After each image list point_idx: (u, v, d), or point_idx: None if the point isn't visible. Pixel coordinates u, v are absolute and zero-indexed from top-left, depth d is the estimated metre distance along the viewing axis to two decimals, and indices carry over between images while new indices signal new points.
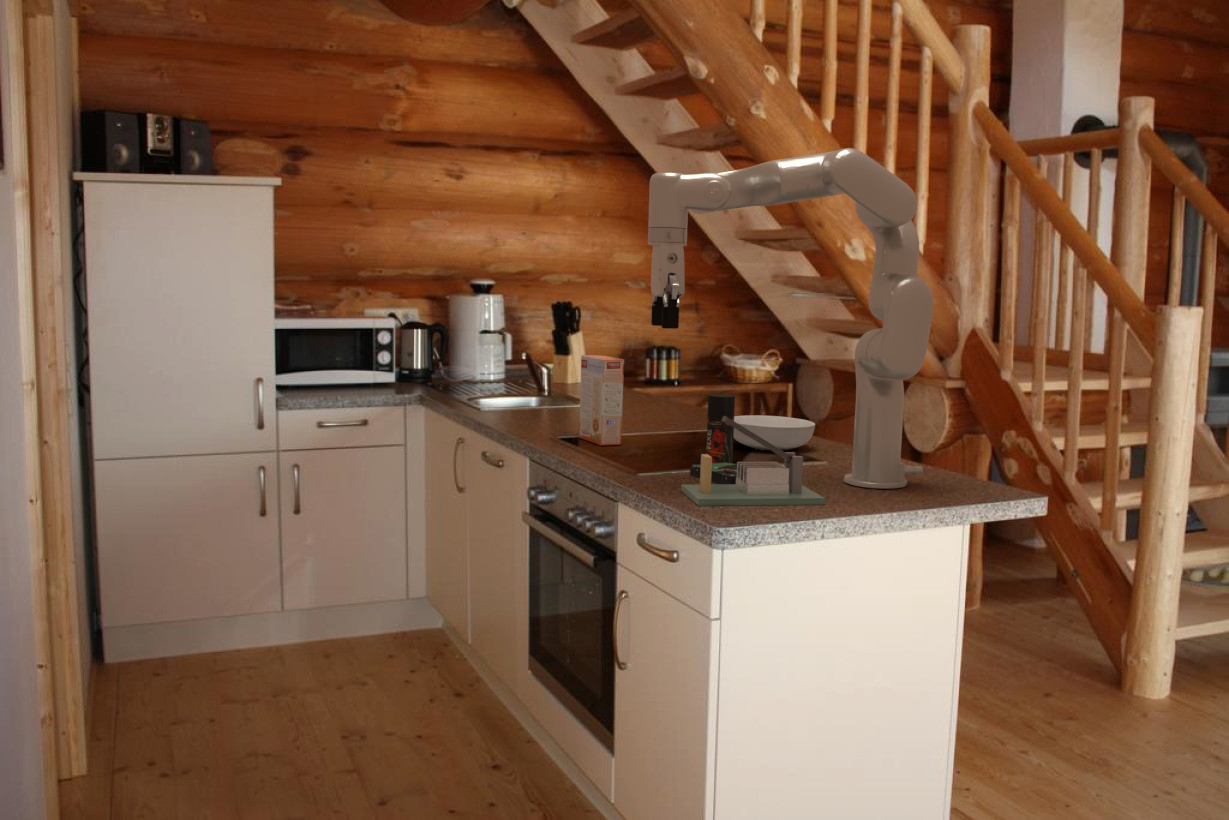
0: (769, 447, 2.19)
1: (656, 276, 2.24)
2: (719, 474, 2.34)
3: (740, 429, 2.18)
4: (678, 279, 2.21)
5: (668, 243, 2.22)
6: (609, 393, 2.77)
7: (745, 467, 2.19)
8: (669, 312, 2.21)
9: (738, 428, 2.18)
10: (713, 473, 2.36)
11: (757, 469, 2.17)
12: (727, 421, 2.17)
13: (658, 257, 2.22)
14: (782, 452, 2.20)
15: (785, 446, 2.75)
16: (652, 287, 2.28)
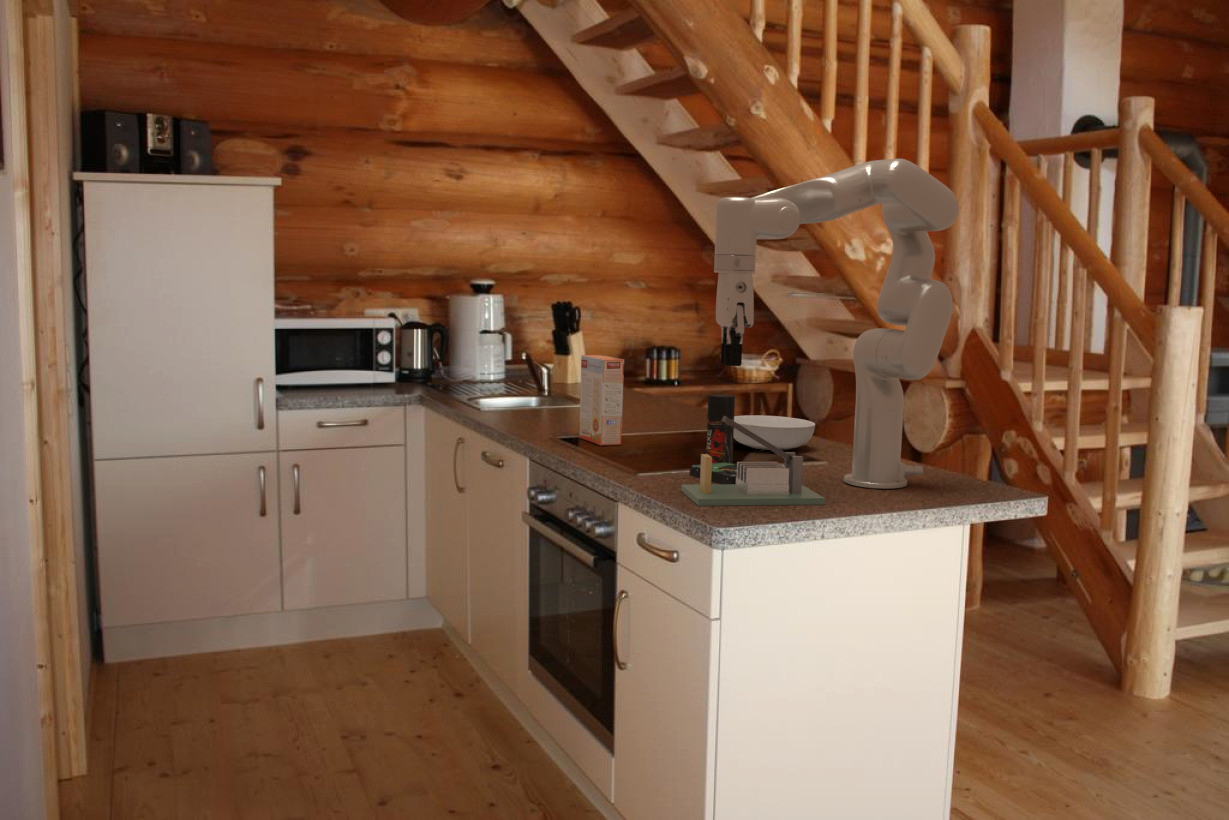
0: (769, 447, 2.19)
1: (723, 305, 2.13)
2: (720, 474, 2.34)
3: (740, 429, 2.18)
4: (747, 309, 2.11)
5: (736, 271, 2.11)
6: (609, 393, 2.77)
7: (745, 467, 2.19)
8: (732, 349, 2.15)
9: (738, 428, 2.18)
10: (714, 473, 2.36)
11: (757, 469, 2.17)
12: (727, 421, 2.17)
13: (726, 285, 2.12)
14: (782, 452, 2.20)
15: (785, 446, 2.75)
16: (718, 316, 2.18)
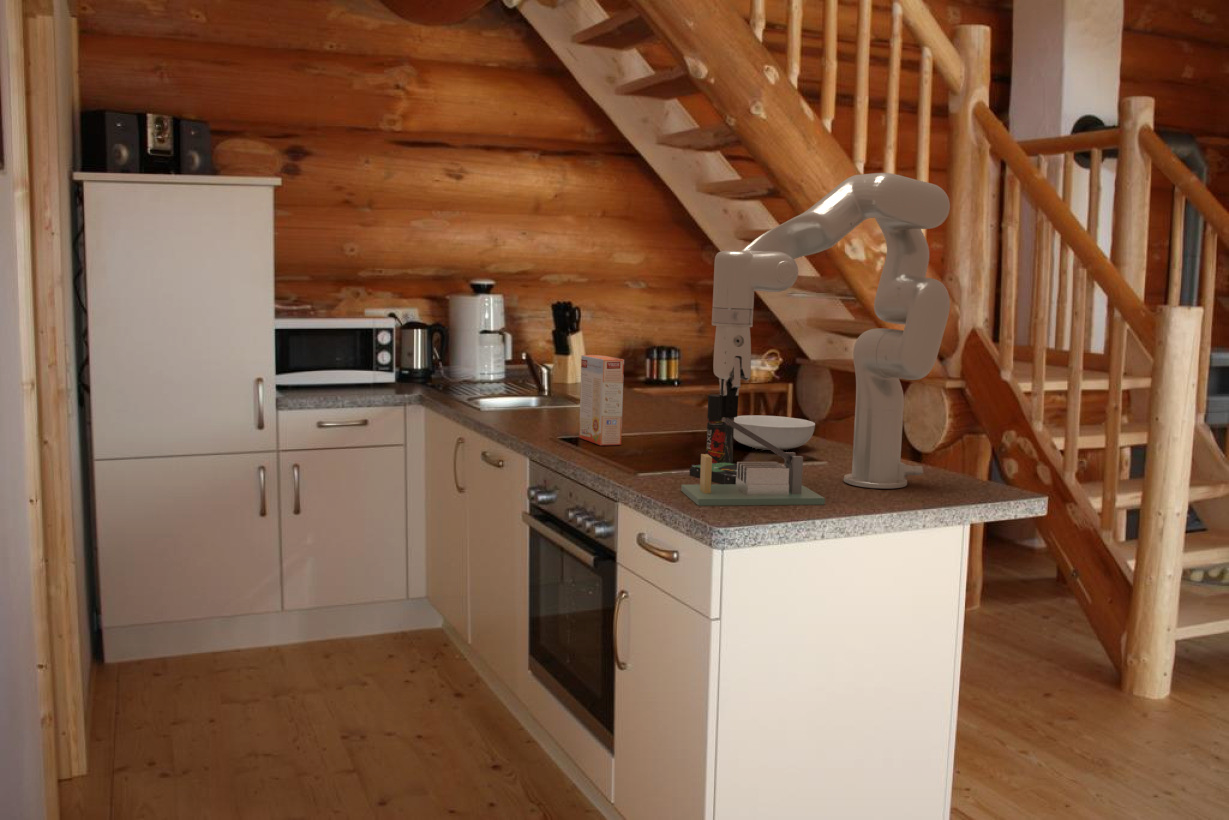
0: (769, 447, 2.19)
1: (721, 358, 2.14)
2: (721, 474, 2.34)
3: (740, 429, 2.18)
4: (744, 362, 2.12)
5: (734, 325, 2.12)
6: (609, 393, 2.77)
7: (745, 467, 2.19)
8: (728, 401, 2.16)
9: (738, 428, 2.18)
10: (714, 473, 2.36)
11: (757, 469, 2.17)
12: (727, 421, 2.17)
13: (723, 339, 2.13)
14: (782, 452, 2.20)
15: (785, 446, 2.75)
16: (715, 368, 2.19)
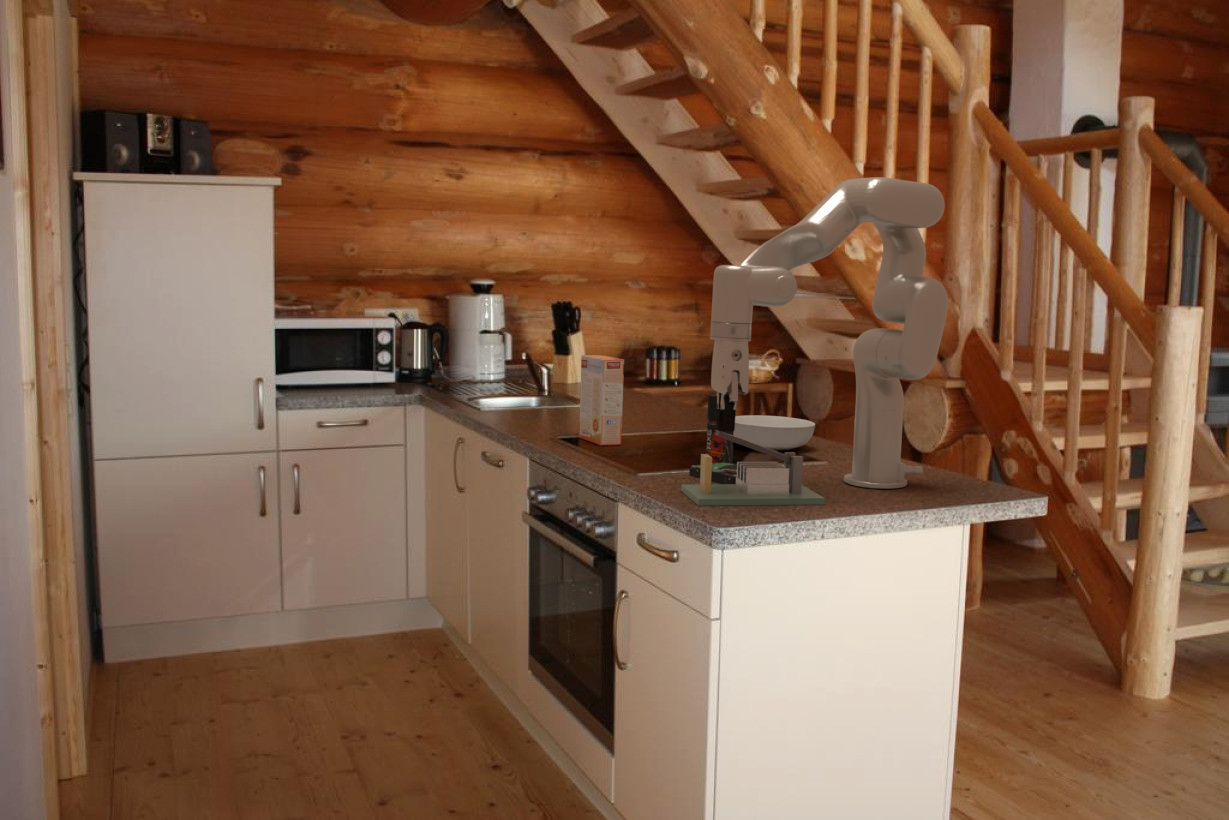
0: (767, 452, 2.19)
1: (719, 372, 2.15)
2: (722, 475, 2.34)
3: (735, 440, 2.18)
4: (742, 377, 2.12)
5: (732, 339, 2.13)
6: (609, 393, 2.77)
7: (745, 467, 2.19)
8: (725, 415, 2.16)
9: (732, 440, 2.18)
10: (715, 474, 2.36)
11: (757, 469, 2.17)
12: (720, 435, 2.17)
13: (721, 353, 2.13)
14: (780, 455, 2.20)
15: (785, 446, 2.75)
16: (713, 382, 2.19)
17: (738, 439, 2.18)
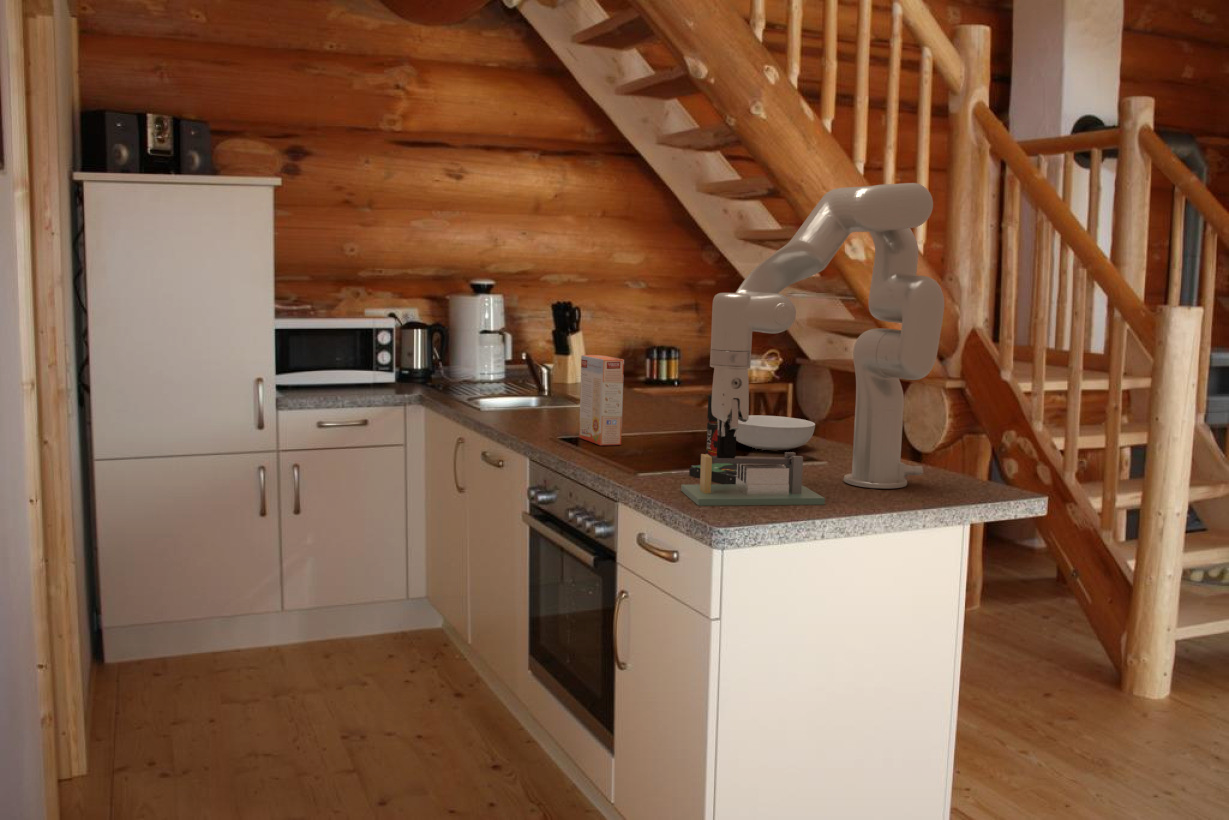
0: (765, 462, 2.19)
1: (719, 400, 2.15)
2: (723, 475, 2.34)
3: (730, 461, 2.18)
4: (742, 404, 2.13)
5: (732, 367, 2.13)
6: (609, 393, 2.77)
7: (745, 467, 2.19)
8: (726, 442, 2.17)
9: (728, 461, 2.18)
10: (716, 474, 2.36)
11: (757, 469, 2.17)
12: (715, 461, 2.18)
13: (721, 381, 2.14)
14: (779, 460, 2.20)
15: (785, 446, 2.75)
16: (713, 409, 2.20)
17: (733, 459, 2.18)
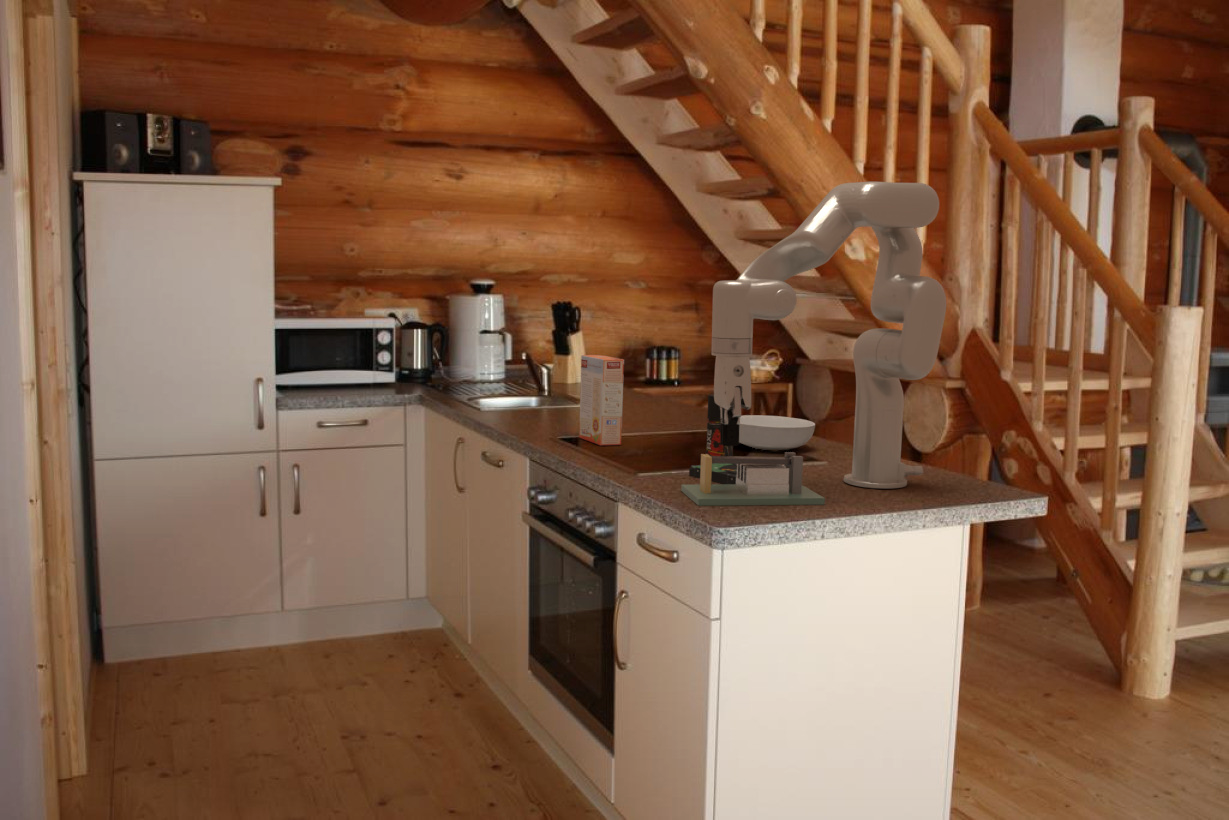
0: (765, 462, 2.19)
1: (721, 388, 2.15)
2: (724, 475, 2.34)
3: (730, 461, 2.18)
4: (745, 392, 2.13)
5: (734, 355, 2.13)
6: (609, 393, 2.77)
7: (745, 467, 2.19)
8: (729, 430, 2.17)
9: (728, 462, 2.18)
10: (716, 474, 2.36)
11: (757, 469, 2.17)
12: (715, 461, 2.18)
13: (723, 369, 2.14)
14: (779, 460, 2.20)
15: (785, 446, 2.75)
16: (716, 397, 2.20)
17: (733, 459, 2.18)
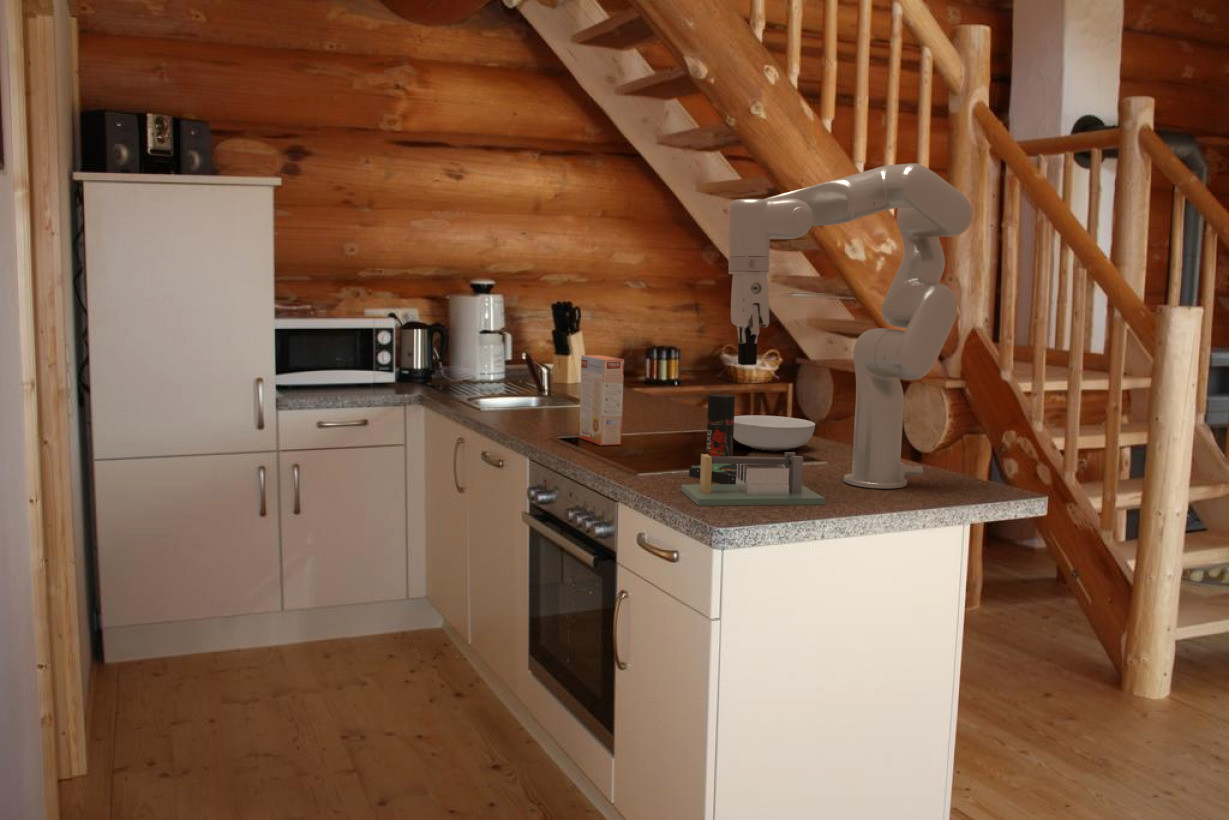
0: (765, 462, 2.19)
1: (739, 306, 2.16)
2: (724, 475, 2.34)
3: (730, 461, 2.18)
4: (763, 309, 2.14)
5: (751, 272, 2.14)
6: (609, 393, 2.77)
7: (745, 467, 2.19)
8: (747, 348, 2.18)
9: (728, 462, 2.18)
10: (717, 474, 2.35)
11: (757, 469, 2.17)
12: (715, 461, 2.18)
13: (741, 286, 2.15)
14: (779, 460, 2.20)
15: (785, 446, 2.75)
16: (733, 317, 2.21)
17: (733, 459, 2.18)
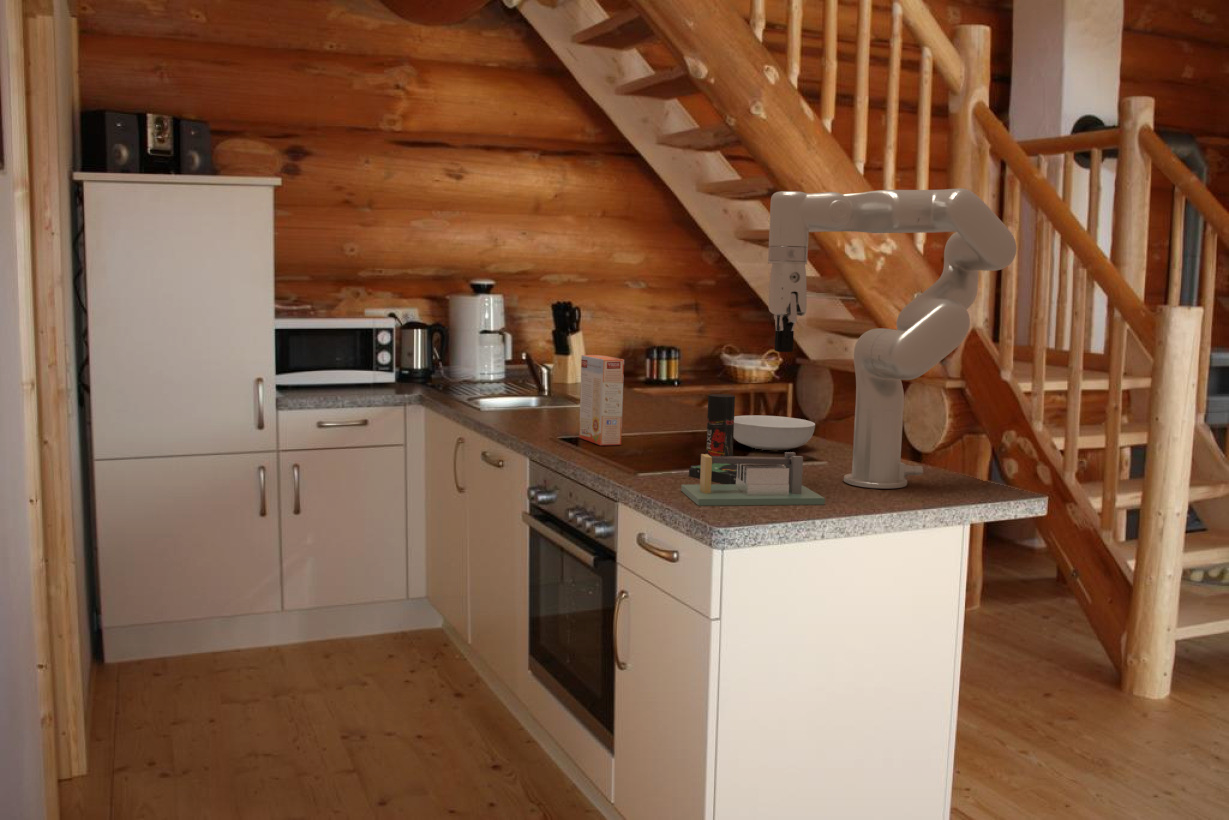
0: (765, 462, 2.19)
1: (777, 295, 2.24)
2: (726, 475, 2.34)
3: (730, 461, 2.18)
4: (800, 298, 2.22)
5: (790, 262, 2.22)
6: (609, 393, 2.77)
7: (745, 467, 2.19)
8: (784, 336, 2.26)
9: (728, 462, 2.18)
10: (718, 474, 2.35)
11: (757, 469, 2.17)
12: (715, 461, 2.18)
13: (780, 275, 2.23)
14: (779, 460, 2.20)
15: (785, 446, 2.75)
16: (771, 305, 2.29)
17: (733, 459, 2.18)
